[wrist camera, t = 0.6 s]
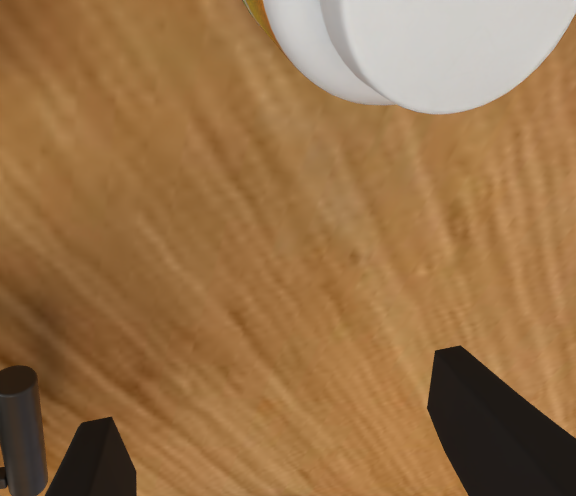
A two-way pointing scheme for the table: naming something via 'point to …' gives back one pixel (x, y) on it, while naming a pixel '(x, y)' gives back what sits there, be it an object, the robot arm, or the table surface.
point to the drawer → (21, 433)
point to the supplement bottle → (415, 47)
